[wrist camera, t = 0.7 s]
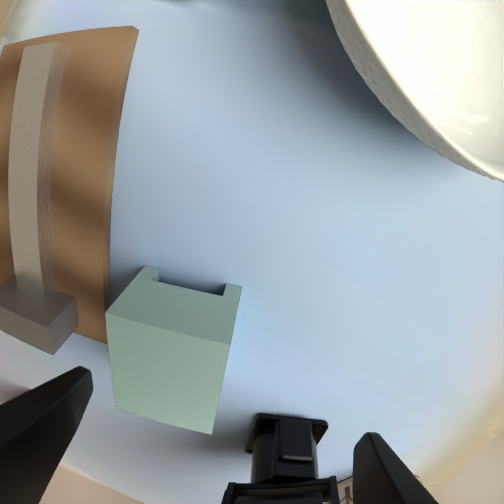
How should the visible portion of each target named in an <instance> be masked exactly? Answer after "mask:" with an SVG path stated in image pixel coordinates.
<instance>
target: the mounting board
mask: <svg viewBox="0 0 504 504" xmlns="http://www.w3.org/2000/svg"><path fill="white" fill-rule="evenodd" d="M138 33H139V30H138V29H136V28H135V27H133V26H124V27H109V28H98V29H89V30H80V31H73V32H67V33H60V34H55V35H49V36H44V37H39V38H34V39H30V40H26V41H21V42H17V43H13V44H10V45H6V46H3V50H2V54H1V59H0V284H2V283H3V282H4V281H6V280H7V279H9V278H10V277H11V276H15V269H14V262H13V254H12V245H11V234H10V221H9V198H8V167H9V145H10V131H11V121H12V112H13V104H14V97H15V91H16V85H17V79H18V74H19V69H20V64H21V60H22V55H23V51H24V47H28V46H33V45H38V44H44V43H49V42H55V41H56V42H60V43H63V44H67V45H69V49H68V53H67V57H66V62H65V67H64V71H63V76H62V82H61V87H60V93H59V99H58V106H57V113H56V120H55V129H54V139H53V150H52V165H51V191H50V219H51V245H52V260H53V271H54V281H55V290H56V291H57V292H60V293H63V294H66V295H69V296H72V297H75V298H76V303H77V312H78V320H79V326H78V327H77V328H76V329H75V330H74V331H73V332H74V333H77V334H80V335H83V336H85V337H88V338H91V339H94V340H97V341H100V342H103V343H106V344H107V343H108V342H107V330H106V317H105V312H106V311H107V310H108V309H109V308H110V270H109V258H110V219H111V201H112V187H113V176H114V165H115V156H116V148H117V140H118V132H119V125H120V119H121V113H122V107H123V101H124V95H125V90H126V85H127V80H128V75H129V70H130V65H131V61H132V57H133V52H134V48H135V44H136V40H137V36H138Z"/></svg>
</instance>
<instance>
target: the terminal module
mask: <svg viewBox="0 0 504 504" xmlns="http://www.w3.org/2000/svg"><path fill="white" fill-rule="evenodd" d="M159 271H160V268H155V267H151V266H147V265H146V266H145V267H144V268H143V269H142V270H141V271H140V272H139V273H138V275H137V276H136V277H135V278H134V279H133V280H132V282H131V283H130V284H129V285H128V286H127V287H126V289H125V290H124V291H123V292H122V293H121V294H120V296H119V297H118V298H117V299H116V300H115V302H114V303H113V304H112V305H111V306H110V308H109V309H108V310H107V311H106V312H105V317H106V330H107V342H108V352H109V361H110V369H111V376H112V384H113V390H114V397H115V403H116V409H119V410H122V411H125V412H128V413H131V414H134V415H138V416H141V417H144V418H147V419H151V420H154V421H158V422H161V423H165V424H168V425H172V426H176V427H180V428H184V429H188V430H192V431H197V432H201V433H206V434H210V435H212V430H213V426H214V421H215V416H216V411H217V406H218V402H219V397H220V392H221V387H222V383H223V378H224V373H225V368H226V363H227V359H228V354H229V349H230V344H231V339H232V334H233V329H234V324H235V319H236V314H237V310H238V305H239V300H240V295H241V290H242V287H241V286H236V285H232V284H226V287H225V291H224V294H223V296H219V295H215V294H210V293H205V292H201V291H197V290H192V289H188V288H183V287H179V286H175V285H171V284H166V283H162V282H159Z"/></svg>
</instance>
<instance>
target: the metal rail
mask: <svg viewBox="0 0 504 504" xmlns="http://www.w3.org/2000/svg"><path fill="white" fill-rule="evenodd" d="M68 49H69V45H67V44H63V43H60V42H56V41H55V42H49V43H44V44H38V45H33V46H28V47H24V51H23V55H22V60H21V64H20V69H19V74H18V79H17V85H16V91H15V97H14V104H13V112H12V121H11V131H10V145H9V167H8V198H9V221H10V234H11V245H12V254H13V262H14V269H15V276H16V282H17V288H18V290H20V291H22V292H25V293H27V294H30V295H32V296H35V297H37V298H40V299H42V300H46V299H47V298H48V297H49V296H51V295H52V294H53V293H54V292H55V291H56V290H55V281H54V271H53V260H52V245H51V219H50V191H51V165H52V150H53V139H54V129H55V120H56V113H57V106H58V99H59V93H60V87H61V82H62V76H63V71H64V67H65V62H66V57H67V53H68Z"/></svg>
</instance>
